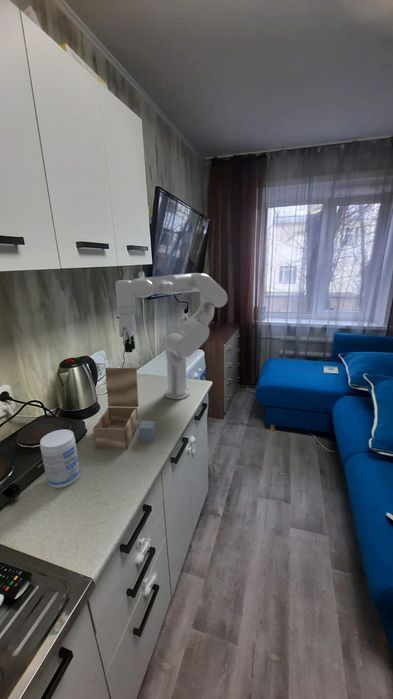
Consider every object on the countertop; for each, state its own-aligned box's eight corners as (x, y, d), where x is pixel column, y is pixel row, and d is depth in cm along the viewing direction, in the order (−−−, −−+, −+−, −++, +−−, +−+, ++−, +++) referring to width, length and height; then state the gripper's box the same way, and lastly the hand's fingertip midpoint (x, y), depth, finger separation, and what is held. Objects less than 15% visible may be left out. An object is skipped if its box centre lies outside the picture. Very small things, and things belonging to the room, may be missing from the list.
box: (110, 424, 119) (108, 407, 117) (138, 424, 118) (137, 407, 116) (95, 448, 104) (92, 429, 101) (127, 448, 103) (125, 429, 101)
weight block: (143, 434, 112) (142, 420, 110) (155, 434, 112) (154, 420, 110) (140, 441, 107) (139, 427, 105) (153, 442, 107) (152, 428, 105)
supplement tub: (75, 487, 86) (68, 446, 81) (42, 491, 84) (33, 449, 80) (83, 465, 95) (77, 427, 90) (53, 468, 94) (46, 430, 89)
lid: (108, 406, 117) (109, 405, 118) (137, 407, 116) (138, 406, 117) (105, 368, 114) (106, 367, 115) (135, 368, 113) (136, 367, 114)
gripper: (123, 306, 129) (127, 345, 135) (111, 313, 114) (116, 356, 119) (140, 306, 129) (142, 345, 134) (130, 313, 113) (133, 356, 119)
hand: (130, 350), depth 127 cm, fingers open, 3 cm apart
